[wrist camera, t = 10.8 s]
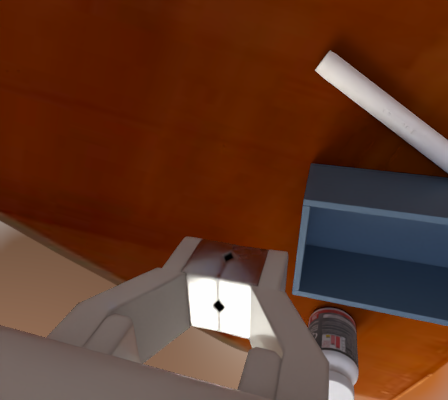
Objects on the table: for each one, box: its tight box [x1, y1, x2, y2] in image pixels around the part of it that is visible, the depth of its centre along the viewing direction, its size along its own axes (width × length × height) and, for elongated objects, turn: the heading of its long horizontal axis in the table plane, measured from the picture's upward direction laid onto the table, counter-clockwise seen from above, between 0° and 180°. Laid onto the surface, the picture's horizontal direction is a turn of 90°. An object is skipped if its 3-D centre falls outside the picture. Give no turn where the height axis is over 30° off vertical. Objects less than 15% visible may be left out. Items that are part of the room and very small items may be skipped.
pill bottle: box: [308, 308, 358, 400], centre depth 39 cm, size 6×6×10 cm
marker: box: [315, 50, 448, 173], centre depth 30 cm, size 18×2×2 cm, turn 57°
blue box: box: [292, 163, 448, 326], centre depth 31 cm, size 10×20×8 cm, turn 90°
